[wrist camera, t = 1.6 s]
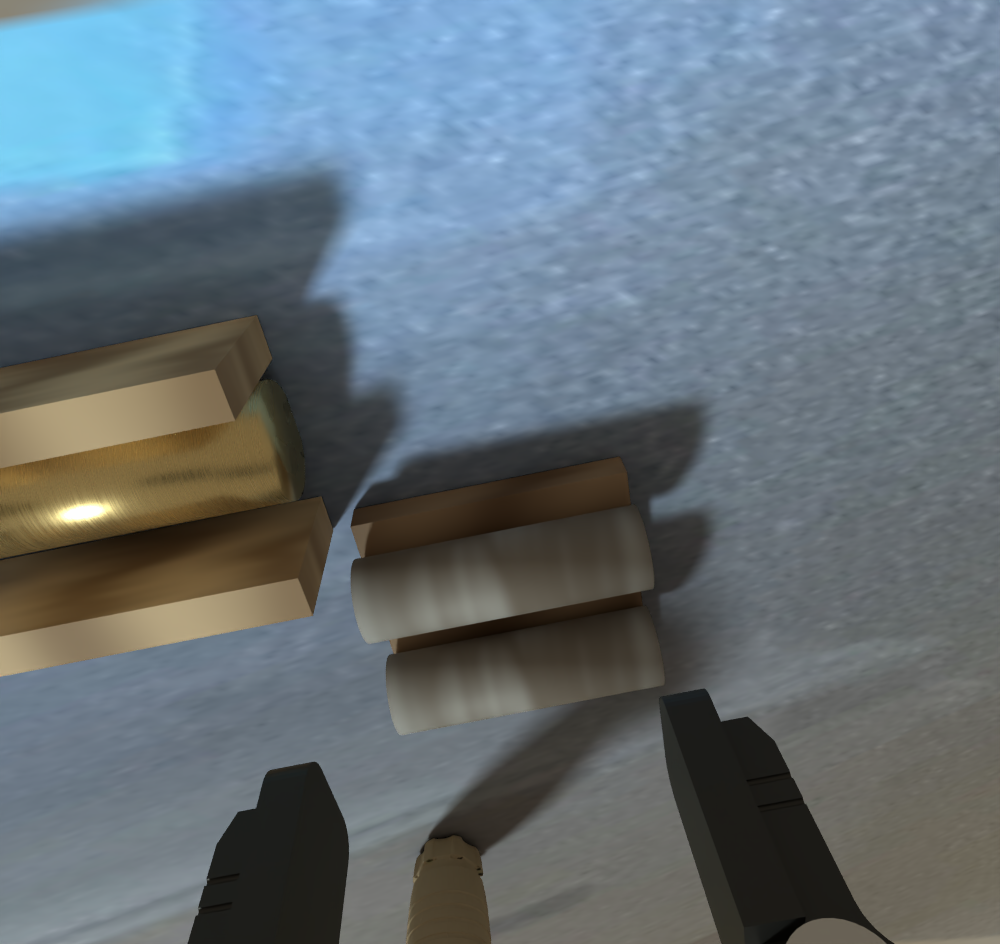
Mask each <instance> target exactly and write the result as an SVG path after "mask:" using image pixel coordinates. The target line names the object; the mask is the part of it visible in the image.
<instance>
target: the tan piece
mask: <svg viewBox="0 0 1000 944" xmlns="http://www.w3.org/2000/svg"><path fill="white" fill-rule="evenodd" d="M271 360H272V356H271V353H270V350H269V348H268V345H267V342H266V339H265V336H264V334H263V331H262V328H261V325H260V322H259V320H258V317H257V315H255V316H250V317H245V318H240V319H235V320H230V321H226V322H221V323H216V324H211V325H206V326H201V327H197V328H192V329H187V330H182V331H177V332H172V333H167V334H163V335H158V336H153V337H148V338H143V339H138V340H134V341H129V342H124V343H119V344H114V345H109V346H105V347H100V348H95V349H90V350H85V351H80V352H75V353H71V354H66V355H61V356H56V357H51V358H46V359H42V360H37V361H32V362H27V363H22V364H17V365H12V366H8V367H3V368H0V468H5V467H9V466H14V465H19V464H24V463H29V462H34V461H39V460H44V459H49V458H54V457H59V456H64V455H69V454H74V453H79V452H84V451H88V450H93V449H98V448H103V447H108V446H113V445H118V444H123V443H128V442H133V441H138V440H143V439H148V438H153V437H158V436H162V435H167V434H172V433H177V432H182V431H187V430H192V429H197V428H202V427H207V426H212V425H217V424H222V423H227V422H232V421H235V420H236V418H237V417H238V415H239V413H240V412H241V410H242V408H243V407H244V405H245V403H246V402H247V400H248V398H249V397H250V395H251V393H252V392H253V390H254V388H255V387H256V385H257V383H258V382H259V380H260V378H261V377H262V375H263V373H264V372H265V370H266V368H267V367H268V365H269V363H270V362H271ZM332 533H333V528H332V525H331V522H330V519H329V516H328V514H327V511H326V508H325V505H324V502H323V500H322V497H321V496H320V497H315V498H310V499H305V500H300V501H295V502H290V503H285V504H280V505H275V506H270V507H265V508H260V509H255V510H250V511H245V512H240V513H235V514H230V515H225V516H220V517H215V518H210V519H205V520H200V521H195V522H190V523H185V524H180V525H175V526H170V527H165V528H160V529H155V530H150V531H145V532H140V533H135V534H130V535H125V536H120V537H115V538H110V539H105V540H100V541H95V542H90V543H85V544H79V545H74V546H69V547H64V548H59V549H54V550H49V551H44V552H39V553H34V554H29V555H24V556H19V557H14V558H9V559H4V560H0V677H1V676H6V675H12V674H17V673H22V672H27V671H32V670H37V669H42V668H47V667H53V666H58V665H63V664H68V663H73V662H78V661H83V660H89V659H94V658H99V657H104V656H109V655H114V654H119V653H124V652H130V651H135V650H140V649H145V648H150V647H155V646H160V645H165V644H171V643H176V642H181V641H186V640H191V639H196V638H201V637H207V636H212V635H217V634H222V633H227V632H232V631H237V630H242V629H248V628H253V627H258V626H263V625H268V624H273V623H278V622H284V621H289V620H294V619H299V618H304V617H309V616H313V613H314V609H315V605H316V600H317V596H318V592H319V588H320V584H321V580H322V575H323V571H324V567H325V563H326V559H327V554H328V550H329V546H330V542H331V538H332Z"/></svg>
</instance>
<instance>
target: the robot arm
mask: <svg viewBox="0 0 1000 944" xmlns="http://www.w3.org/2000/svg"><path fill="white" fill-rule="evenodd" d="M659 705H660V714H661V723H662V731H663V740H664V749H665V757H666V764H667V769H668V774H669V779H670V783H671V787H672V791H673V794H674V798H675V801H676V804H677V807H678V810H679V813H680V817H681V820H682V823H683V826H684V829H685V832H686V835H687V838H688V841H689V844H690V848H691V851H692V854H693V857H694V860H695V863H696V866H697V869H698V872H699V875H700V878H701V882H702V885H703V888H704V891H705V894H706V897H707V900H708V903H709V906H710V909H711V912H712V916H713V919H714V922H715V925H716V928H717V931H718V934H719V937H720V940H721V943H722V944H894V943H893V942H891V941H890V940H888V939H887V938H886V937H884V936H883V935H882V934H881V933H880V932H878V931H877V930H876V929H875V928H874V927H873V926H872V925H871V923H870V922H869V921H868V920H867V919H866V917H865V916H864V915H863V914H862V912H861V911H860V909H859V907H858V906H857V904H856V902H855V901H854V899H853V897H852V895H851V893H850V891H849V889H848V887H847V885H846V883H845V881H844V879H843V877H842V875H841V873H840V871H839V869H838V867H837V865H836V863H835V861H834V859H833V857H832V855H831V853H830V851H829V849H828V847H827V845H826V843H825V841H824V839H823V837H822V835H821V833H820V831H819V829H818V827H817V825H816V823H815V821H814V819H813V817H812V815H811V813H810V811H809V809H808V807H807V805H806V804H805V803H804V801H803V797H802V795H801V793H800V791H799V789H798V787H797V785H796V783H795V781H794V779H793V778H792V777H791V775H790V771H789V769H788V767H787V765H786V763H785V761H784V759H783V757H782V755H781V753H780V751H779V749H778V747H777V745H776V743H775V741H774V740H773V739H772V738H771V737H770V736H768V735H767V734H766V733H765V732H764V731H763V730H762V729H761V728H760V727H759V726H757V725H756V724H755V723H754V722H753V721H752V720H751V719H750V718H749V717H743V718H738V719H733V720H728V721H722V722H721V721H720V718H719V716H718V714H717V711H716V709H715V707H714V705H713V702H712V700H711V698H710V696H709V694H708V692H707V691H706V689H699V690H694V691H688V692H683V693H678V694H673V695H667V696H662V697H660V698H659ZM348 860H349V842H348V834H347V828H346V824H345V821H344V818H343V816H342V813H341V811H340V809H339V807H338V805H337V802H336V800H335V798H334V796H333V794H332V791H331V789H330V787H329V785H328V782H327V780H326V778H325V776H324V774H323V771H322V769H321V767H320V766H319V764H318V763H317V762H310V763H305V764H299V765H294V766H289V767H284V768H278V769H273V770H270V771H268V772H267V774H266V775H265V778H264V780H263V784H262V788H261V792H260V796H259V800H258V803H257V807H256V809H251V810H245V811H240V812H238V813H237V815H236V816H235V818H234V819H233V821H232V822H231V824H230V825H229V827H228V828H227V830H226V831H225V833H224V834H223V836H222V837H221V839H220V840H219V842H218V843H217V845H216V849H215V852H214V855H213V859H212V862H211V866H210V869H209V873H208V876H207V886H204V890H203V893H202V896H201V900H200V903H199V907H198V909H199V914H198V915H197V916H196V917H195V920H194V924H193V927H192V931H191V934H190V937H189V941H188V944H339V937H340V929H341V920H342V912H343V903H344V895H345V887H346V878H347V870H348Z"/></svg>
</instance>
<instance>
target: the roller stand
mask: <svg viewBox="0 0 1000 944" xmlns="http://www.w3.org/2000/svg"><path fill="white" fill-rule="evenodd" d="M351 529H352V532H353V535H354V538H355V541H356V544H357V547H358V550H359V553H360V556H361V558H359V559H355V560H354V561H353V563H352V567H351V593H352V601H353V607H354V612H355V616H356V620H357V624H358V627H359V630H360V632H361V634H362V637H363V638H364V640H365V641H366V642H367V643H368V644H372V643H377V642H382V641H387V640H389V641H390V644H391V647H392V650H393V653H394V654H391V655H389V656H388V658H387V662H386V688H387V696H388V703H389V708H390V712H391V717H392V720H393V723H394V726H395V728H396V730H397V732H398V733H399V734H400V735H405V734H410V733H416V732H421V731H426V730H431V729H437V728H442V727H447V726H452V725H458V724H463V723H468V722H474V721H479V720H484V719H489V718H495V717H500V716H505V715H510V714H516V713H521V712H526V711H531V710H537V709H542V708H547V707H553V706H558V705H563V704H568V703H574V702H579V701H584V700H589V699H595V698H600V697H605V696H610V695H616V694H621V693H626V692H632V691H637V690H642V689H647V688H653V687H658V686H663V685H664V684H665V674H664V666H663V660H662V655H661V650H660V645H659V641H658V637H657V633H656V630H655V626H654V623H653V620H652V617H651V615H650V612H649V610H648V608H647V607H646V606H643V604H642V596H641V591H646V590H651V589H653V588H654V570H653V562H652V556H651V551H650V546H649V542H648V538H647V534H646V530H645V527H644V523H643V520H642V517H641V515H640V512H639V510H638V508H637V506H636V505H635V504H633V505H631V502H630V494H629V485H628V477H627V471H626V469H625V467H624V465H623V463H622V460H621V458H620V457H615V458H610V459H605V460H600V461H595V462H590V463H585V464H580V465H575V466H570V467H565V468H560V469H554V470H549V471H544V472H539V473H534V474H529V475H524V476H519V477H514V478H509V479H504V480H499V481H494V482H489V483H484V484H479V485H474V486H469V487H464V488H459V489H454V490H449V491H444V492H439V493H434V494H429V495H424V496H418V497H413V498H408V499H403V500H398V501H393V502H388V503H383V504H378V505H373V506H368V507H363V508H358V509H354V512H353V517H352V522H351Z"/></svg>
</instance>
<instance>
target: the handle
mask: <svg viewBox="0 0 1000 944" xmlns="http://www.w3.org/2000/svg"><path fill="white" fill-rule="evenodd" d="M480 876H483V869H482V862H481V857H480V854H479V851H478V849H477V848H476V847H475V846H470V845H468V844H467V843H465V842H464V841H463V840H462V838H461V837H460V836H455V835H452V836H451V837H448V838H444V839H434V838H433V839H431V840H429V841H428V842H426V844H425V848H424V852H423V853H422V854H420V855H419V856H418V857H417V860H416V864H415V869H414V877H413V883H414V886H413V891H412V896H411V901H410V908H409V918H408V927H407V937H406V944H491V935H490V927H489V917H488V908H487V902H486V895H485V891H484V886H483V882H482V879H481V878H480Z"/></svg>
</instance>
